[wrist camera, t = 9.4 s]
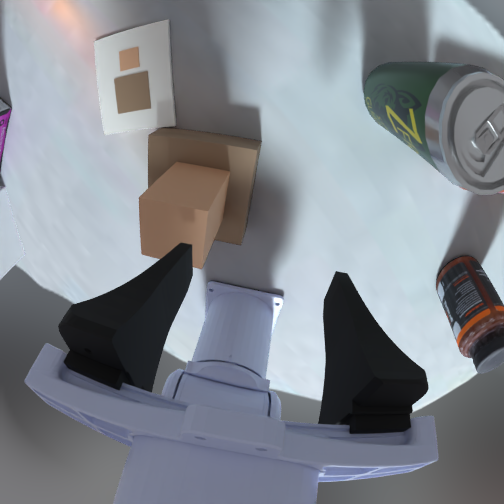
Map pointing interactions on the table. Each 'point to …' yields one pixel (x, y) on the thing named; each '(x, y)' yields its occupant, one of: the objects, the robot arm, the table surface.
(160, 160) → the walnut slab
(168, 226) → the terracotta block
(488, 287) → the supplement bottle
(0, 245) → the milk
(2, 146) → the candy bar box
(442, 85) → the beer can
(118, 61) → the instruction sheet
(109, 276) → the table surface
